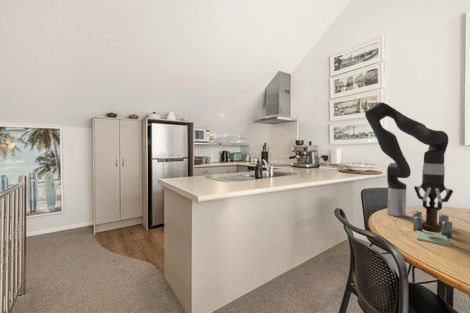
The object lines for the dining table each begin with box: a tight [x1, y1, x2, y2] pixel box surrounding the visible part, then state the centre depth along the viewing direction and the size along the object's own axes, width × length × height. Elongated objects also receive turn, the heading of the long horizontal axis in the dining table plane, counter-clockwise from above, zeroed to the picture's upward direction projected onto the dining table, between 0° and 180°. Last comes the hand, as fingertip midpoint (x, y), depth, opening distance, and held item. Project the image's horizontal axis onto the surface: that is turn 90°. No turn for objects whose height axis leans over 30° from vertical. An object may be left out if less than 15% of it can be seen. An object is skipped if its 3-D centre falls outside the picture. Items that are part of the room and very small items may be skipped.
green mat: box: [415, 230, 451, 247], centre depth 100 cm, size 11×12×1 cm
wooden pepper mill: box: [422, 194, 442, 234], centre depth 100 cm, size 7×6×18 cm
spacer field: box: [412, 210, 453, 239], centre depth 111 cm, size 14×16×7 cm
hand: (431, 209), depth 100 cm, fingers closed on wooden pepper mill, 4 cm apart
